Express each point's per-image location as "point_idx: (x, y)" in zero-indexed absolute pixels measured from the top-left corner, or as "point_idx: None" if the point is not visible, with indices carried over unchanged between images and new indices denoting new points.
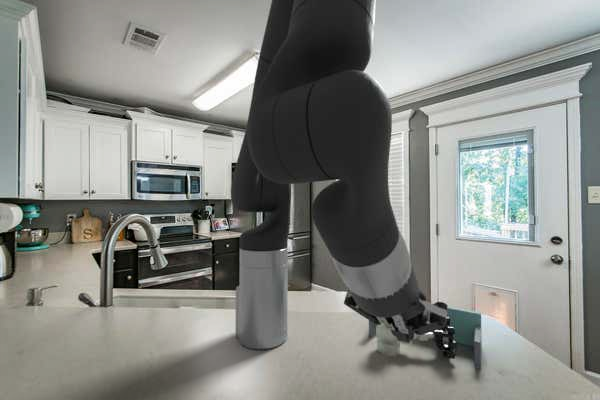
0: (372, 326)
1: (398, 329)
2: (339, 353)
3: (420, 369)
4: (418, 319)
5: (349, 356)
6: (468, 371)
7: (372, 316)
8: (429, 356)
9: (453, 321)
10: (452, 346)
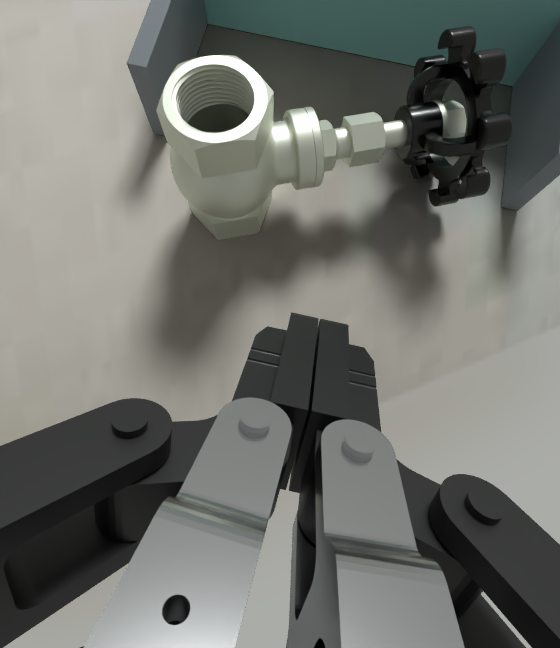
0: (156, 103)
1: (288, 479)
2: (52, 288)
3: (340, 283)
4: (468, 586)
5: (93, 294)
6: (481, 239)
7: (78, 593)
8: (368, 194)
9: (482, 1)
10: (471, 195)
